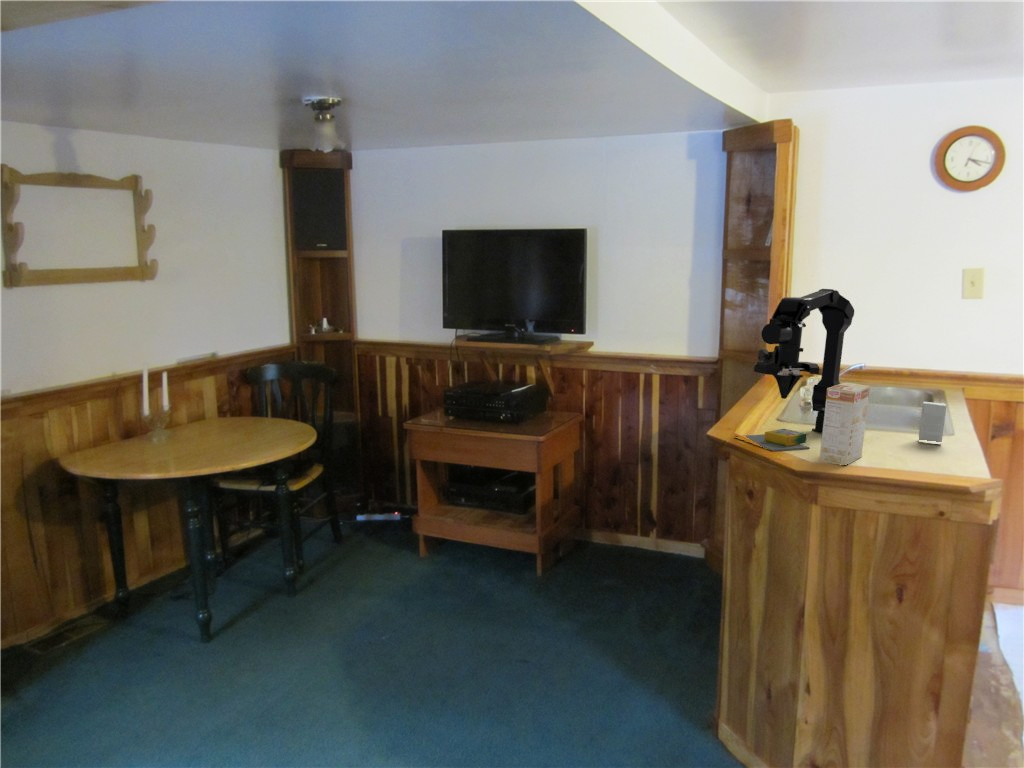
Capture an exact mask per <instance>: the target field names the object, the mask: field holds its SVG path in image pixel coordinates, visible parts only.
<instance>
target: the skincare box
mask: <svg viewBox="0 0 1024 768" xmlns="http://www.w3.org/2000/svg"><path fill="white" fill-rule="evenodd" d="M921 407H922V408H921V415H920V416H921V417H920V422H919V431H918V437H919V440H927V441H936V442H942V441H943V436H944V435H943V434H944V427H945V419H946V411H947V405H946V403H942V402H929V401H922V406H921ZM942 443H943V442H942Z"/></svg>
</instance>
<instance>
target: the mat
mask: <svg viewBox="0 0 1024 768" xmlns="http://www.w3.org/2000/svg"><path fill="white" fill-rule="evenodd" d="M744 436H746V437H747V438H749V439H750V440H752V441H753V442H756V443H757V444H759V445H760V446H762V447H764V448H767V449H769V450H772V451H771V452H785V451H799V450H801V451H802V450H810V447H809V446H807V445H804V444H797V445H792V446H787V447H779V446H774V445H776V444H774V445H770V444H771V443H770V444H766V443H762V442H763V441H764V437H765V433H764V434H750V435H749V434H747V435H744ZM764 448H763V449H764ZM767 449H766V450H767ZM769 450H768V451H769Z"/></svg>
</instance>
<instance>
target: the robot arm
mask: <svg viewBox="0 0 1024 768" xmlns="http://www.w3.org/2000/svg"><path fill="white" fill-rule="evenodd" d="M817 309H818V311H819V313H820V314H821V315H822V316H821V317H822V318H821V323H822V325H823V327H824V329H825V331H826V335H825V342H824V343H825V345H824V352H823V359H822V360H823V361H822V362H823V363H822V371H821V378H820V380H819V381H818V382H817V383H816V384H814V385H813V387H812V396H811V405H812V412H817V413H816V414H817V416H816V417H815V428H811V431H813V432H816V433H820V434H822V432H823V423H824V414H825V405H826V396H827V388H829V387H832V386H835V385H838V384H841V382H840V381H839V380H840V379H839V378H840V370H841V362H842V354H843V347H844V336H845V333H846V331H847V330H848V329H849V327H850V326H851V325H852V322H853V318H854V316H855V309H854V306H853V305H852V303H851V302H850V300H849V299H847V298H845V297H844V296H843V295H841V293H840V292H839V290H836V289H834V288H833V289H831V288H821V289H818V290H817V291H815V292H812V293H809V294H806V295H803V296H800V297H797V296H794V297H793V296H790V297H789V296H788V297H786V296H785V297H782V298H781V300H780V302H778V305H777V307H776V308H775V311H774V312H773V314H772V316H771V318H770V319H769V322H768V323H766V324H765V326H763V328H762V330H761V332H760V333H761V335H760V336H761V339H762V340H763V342H764V343H765V344H767V345H774V348H773V351H769V350H768V349H760V350H758V354H757V358H758V359H757V362H756V363H755V364H754V367H753V372H754V373H759V374H763V375H769V376H770V375H771V376H773V377H774V379H775V380H776V384H777V387H778V390H779V394H780V395H779V396H780V399H784V400H785V399H787V398H788V396H789V394H790V393H791V391H792V390H793V389H794V388H795V386H796V384H797V383H798V382H799V381H800V379H801V378H803V377H804V375H802V374H801V372H807V373H809V374H810V375H819V374H820V367H819V365H818V363H814V362H810V361H800V354H801V353H803V352H804V348H803V347H801V343H802V336H803V335H802V333H803V328H806V326H807V325H806V323H805V322H804V320H805V319H806V318H808V317H809V316H810V315H811V312H812V311H814V310H817Z"/></svg>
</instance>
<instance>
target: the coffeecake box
mask: <svg viewBox="0 0 1024 768" xmlns="http://www.w3.org/2000/svg"><path fill="white" fill-rule="evenodd" d="M870 389H871V385H866V384H859V383H854V382H842V383H841V382H840V384H838V385H835V386H832V387H829V388H827V396H826V405H825V414H824V423H823V432H822V433H821V435H822V436H821V443H820V450H819V459H818V461H819V462H821V463H825V462H826V464H831V463H833V464H832V465H836V464H841V465H847V464H848V465H850V464H851V463H853V462H855V461H857V460H859V459H860V458H861V457H862V456H863V446H864V441H865V432H866V431H865V429H866V424H867V423H866V422H867V414H868V406H869V397H870ZM841 465H840V466H841ZM848 465H847V466H848Z"/></svg>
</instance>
